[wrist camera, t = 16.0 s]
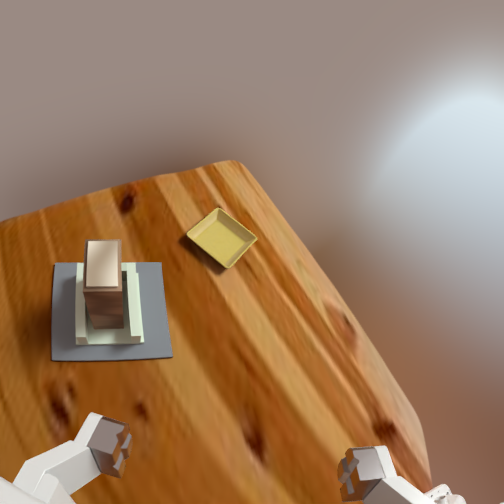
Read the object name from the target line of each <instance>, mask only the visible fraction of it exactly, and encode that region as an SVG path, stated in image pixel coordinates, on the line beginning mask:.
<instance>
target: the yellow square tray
mask: <svg viewBox="0 0 504 504" xmlns="http://www.w3.org/2000/svg"><path fill="white" fill-rule="evenodd" d="M186 235H187V236H188V238H189V239H190V240H192V241H193V242H194V243H195V244H196V245H198V246H199V247H200V248H201V249H203V250H204V251H205V252H206V253H207V254H209V255H210V256H211V257H212V258H213V259H215V260H216V261H217V262H218V263H220V264H221V265H222V266H223V267H225V268H227V269H229V268H231V267H232V266H233V264H234V263H235V262H236V261H237V260H238V259H239V258H240V257H241V256H242V255H243V254H244V253H245V251H246V250H247V249H248V248H249V247H250V246H251V245H252V244H253V243H254V242H255V241H256V240H257V237H256V236H255V235H254V234H253V233H252V232H250V231H249V230H248V229H247V228H245V227H244V226H243V225H241V224H240V223H239V222H238V221H236V220H235V219H234V218H232V217H231V216H230V215H229V214H227V213H226V212H225V211H223V210H222V209H221V208H216V209H215V210H214V211H212V212H211V213H210V214H209V215H208V216H206V217H205V218H204V219H203V220H202V221H200V222H199V223H198V224H197V225H196V226H194V227H193V228H192V229H191V230H190V231H188V232H187V234H186Z"/></svg>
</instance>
